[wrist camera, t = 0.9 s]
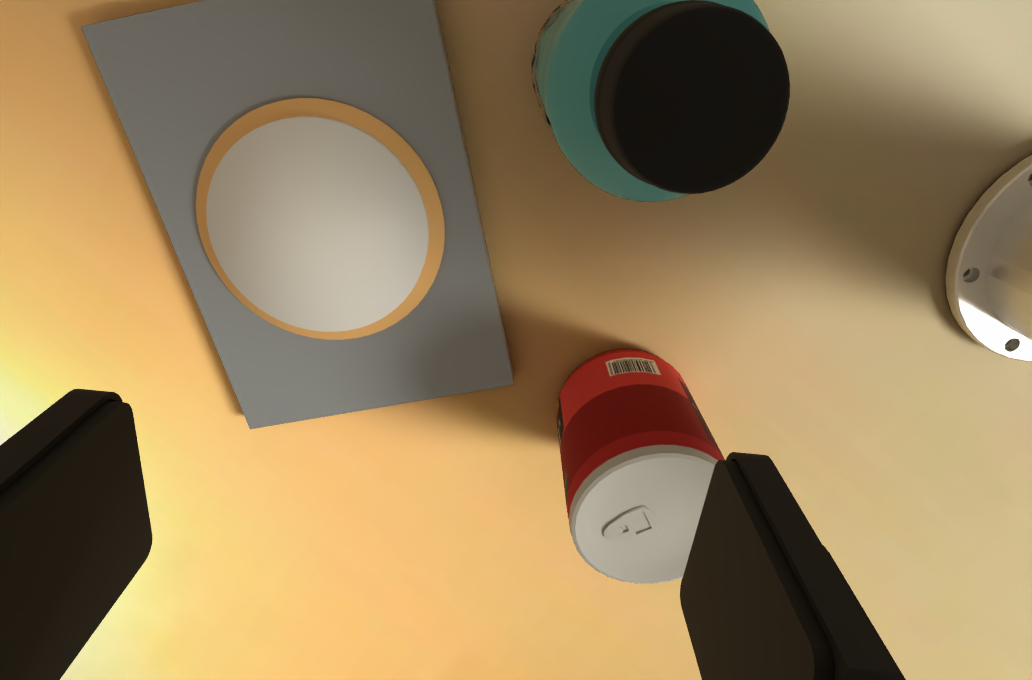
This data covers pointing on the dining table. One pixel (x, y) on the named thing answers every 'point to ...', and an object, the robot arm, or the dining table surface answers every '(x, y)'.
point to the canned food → (633, 465)
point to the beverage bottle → (662, 93)
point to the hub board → (314, 197)
